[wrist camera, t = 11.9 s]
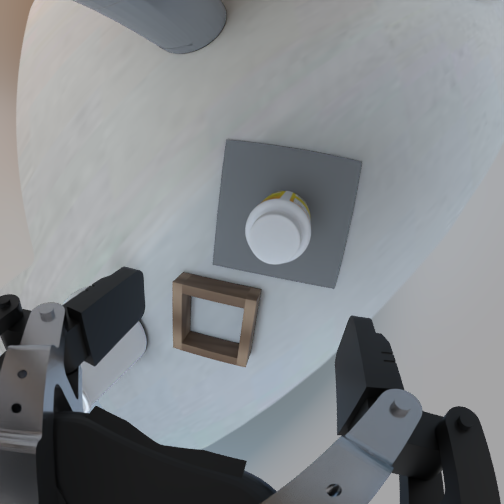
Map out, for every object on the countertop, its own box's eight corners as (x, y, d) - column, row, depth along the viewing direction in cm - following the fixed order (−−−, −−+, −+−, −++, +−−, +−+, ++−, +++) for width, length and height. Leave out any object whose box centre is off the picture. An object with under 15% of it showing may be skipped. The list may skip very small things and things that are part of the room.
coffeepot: (96, 362, 45) (39, 423, 27) (98, 248, 36) (-4, 304, 18) (143, 390, 44) (91, 463, 26) (160, 279, 35) (62, 365, 17)
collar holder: (183, 272, 34) (172, 281, 31) (261, 289, 32) (256, 301, 30) (182, 335, 37) (173, 347, 34) (250, 353, 36) (245, 367, 33)
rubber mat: (227, 139, 28) (226, 139, 27) (361, 161, 26) (362, 161, 25) (214, 262, 33) (212, 264, 32) (333, 286, 31) (334, 288, 30)
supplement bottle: (254, 230, 30) (229, 261, 21) (268, 183, 28) (248, 193, 19) (301, 246, 29) (297, 284, 20) (317, 199, 27) (321, 217, 18)
